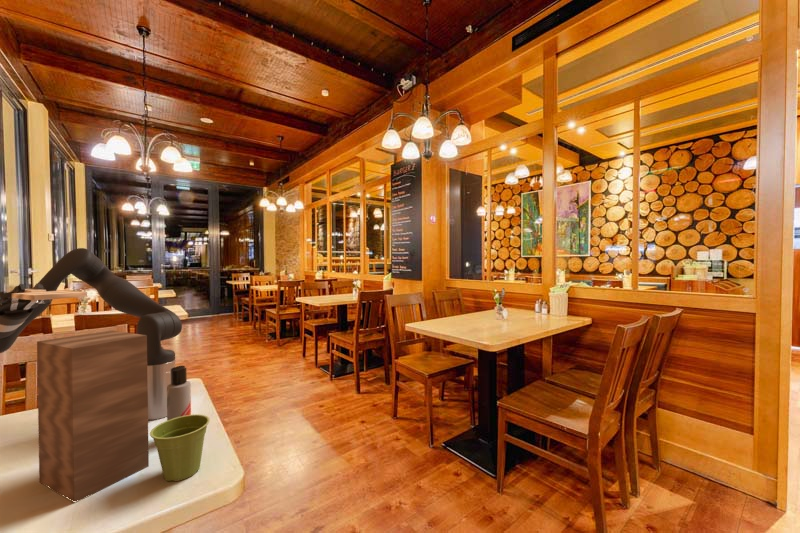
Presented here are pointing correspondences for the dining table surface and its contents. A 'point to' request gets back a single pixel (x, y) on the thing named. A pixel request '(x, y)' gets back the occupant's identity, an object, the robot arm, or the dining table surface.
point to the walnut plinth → (92, 411)
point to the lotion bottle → (178, 394)
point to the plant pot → (180, 445)
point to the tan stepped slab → (47, 294)
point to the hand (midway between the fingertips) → (31, 286)
